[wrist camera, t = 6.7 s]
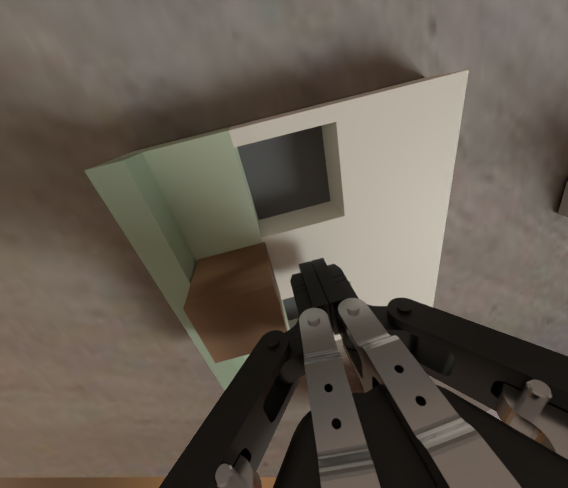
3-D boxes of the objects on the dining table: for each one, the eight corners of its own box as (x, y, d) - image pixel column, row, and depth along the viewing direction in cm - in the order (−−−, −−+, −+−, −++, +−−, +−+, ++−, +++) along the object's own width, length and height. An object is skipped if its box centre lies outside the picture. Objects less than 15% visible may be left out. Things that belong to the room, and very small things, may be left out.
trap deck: (426, 77, 14) (510, 62, 9) (409, 289, 22) (450, 333, 18) (135, 150, 13) (83, 170, 9) (230, 339, 22) (228, 396, 17)
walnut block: (265, 241, 14) (272, 285, 10) (279, 292, 16) (290, 343, 12) (197, 259, 14) (183, 309, 10) (221, 308, 16) (215, 363, 12)
